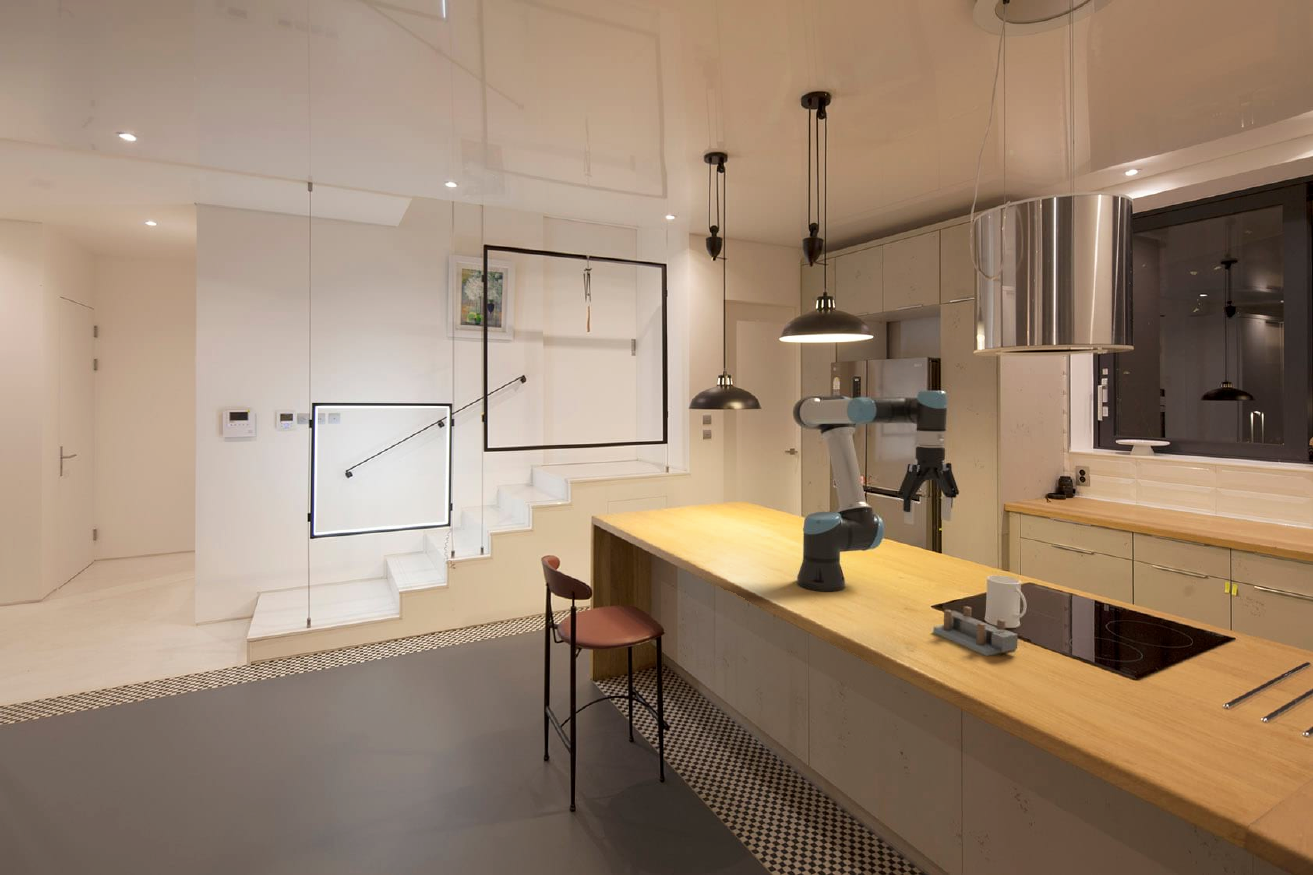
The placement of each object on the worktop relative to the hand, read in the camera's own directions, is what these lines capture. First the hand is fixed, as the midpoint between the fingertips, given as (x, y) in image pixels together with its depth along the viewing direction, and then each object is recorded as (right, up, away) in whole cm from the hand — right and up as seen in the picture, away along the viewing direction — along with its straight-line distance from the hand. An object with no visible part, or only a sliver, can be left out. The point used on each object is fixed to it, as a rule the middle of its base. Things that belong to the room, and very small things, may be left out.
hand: (927, 521), depth 176 cm
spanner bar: (+4, -26, -17) cm, 32 cm away
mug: (+19, -27, -5) cm, 34 cm away
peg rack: (+4, -28, -17) cm, 33 cm away
